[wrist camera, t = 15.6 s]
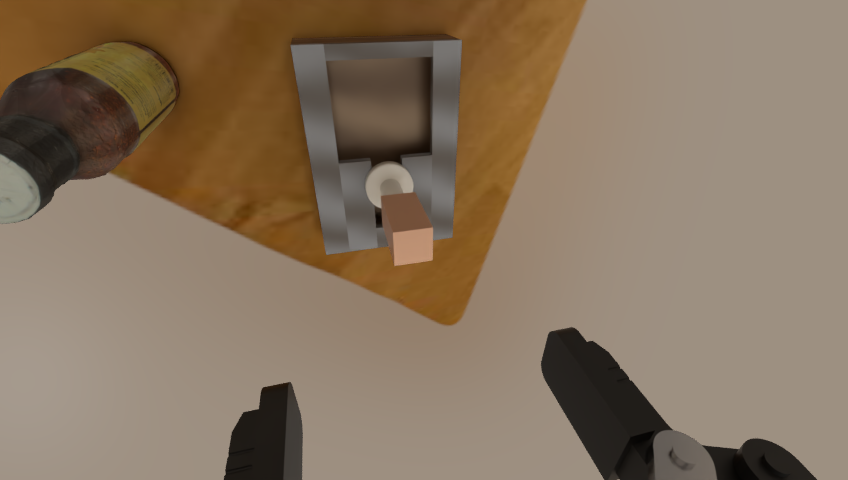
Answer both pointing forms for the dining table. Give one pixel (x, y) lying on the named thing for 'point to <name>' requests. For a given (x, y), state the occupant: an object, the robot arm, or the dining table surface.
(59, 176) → the sauce bottle
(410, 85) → the keyhole plate
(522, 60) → the dining table surface
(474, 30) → the dining table surface
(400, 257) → the keyhole peg
